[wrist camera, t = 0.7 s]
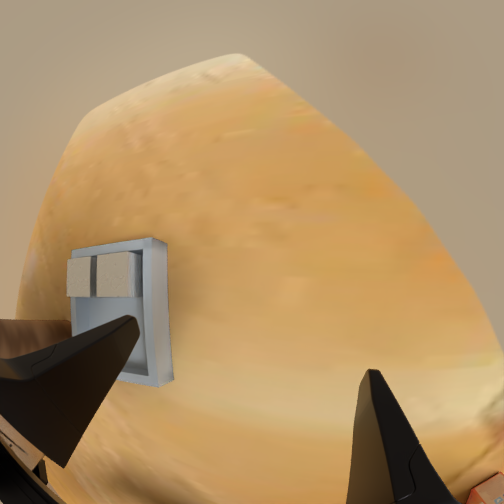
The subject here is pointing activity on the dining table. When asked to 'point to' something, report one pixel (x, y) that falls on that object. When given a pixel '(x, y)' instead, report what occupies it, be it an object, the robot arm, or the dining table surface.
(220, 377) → the dining table surface
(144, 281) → the parts tray
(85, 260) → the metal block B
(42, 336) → the walnut dowel
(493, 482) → the cracker box
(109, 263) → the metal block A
